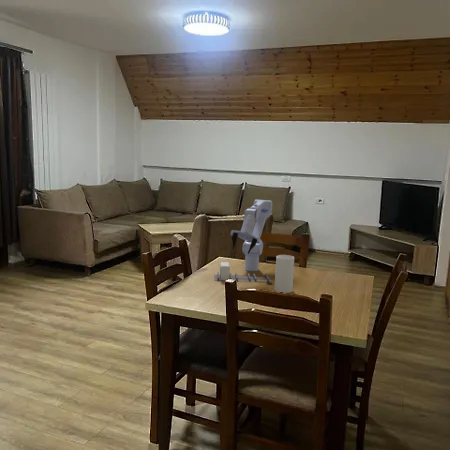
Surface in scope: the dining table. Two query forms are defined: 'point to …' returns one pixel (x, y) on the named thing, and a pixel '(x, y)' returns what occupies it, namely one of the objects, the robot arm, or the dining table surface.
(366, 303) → the dining table surface
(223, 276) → the white rectangular block
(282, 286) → the cup
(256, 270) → the robot arm
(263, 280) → the notch rail
